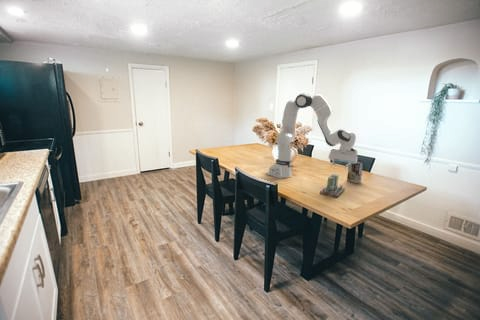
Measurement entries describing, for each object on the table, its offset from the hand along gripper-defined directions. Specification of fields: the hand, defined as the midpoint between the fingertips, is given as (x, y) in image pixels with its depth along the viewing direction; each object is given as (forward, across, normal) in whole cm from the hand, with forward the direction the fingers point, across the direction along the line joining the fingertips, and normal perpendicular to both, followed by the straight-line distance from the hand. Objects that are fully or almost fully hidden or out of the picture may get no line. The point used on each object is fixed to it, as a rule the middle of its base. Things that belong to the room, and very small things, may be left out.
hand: (339, 165), depth 183 cm
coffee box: (-5, +6, +30) cm, 31 cm away
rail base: (+20, 0, +4) cm, 21 cm away
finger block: (+18, 0, +4) cm, 19 cm away
